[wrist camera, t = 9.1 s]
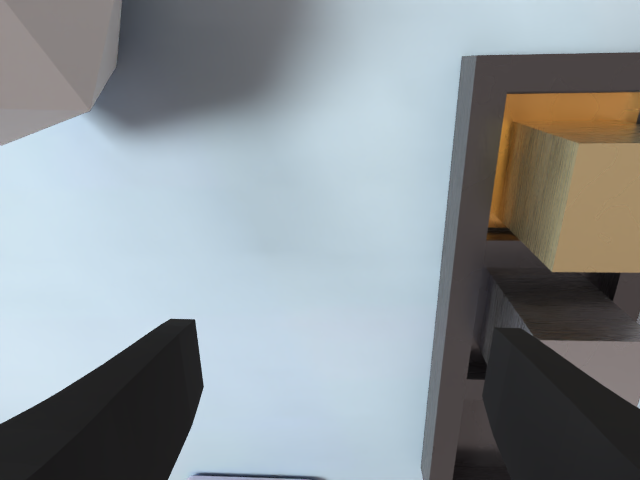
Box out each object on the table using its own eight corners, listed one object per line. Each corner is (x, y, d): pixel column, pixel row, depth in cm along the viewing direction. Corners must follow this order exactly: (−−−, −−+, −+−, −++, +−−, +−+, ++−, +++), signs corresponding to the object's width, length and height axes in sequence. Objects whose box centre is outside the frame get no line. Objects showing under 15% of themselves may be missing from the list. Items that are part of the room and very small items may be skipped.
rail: (564, 471, 25) (582, 505, 23) (420, 467, 25) (426, 499, 23) (679, 52, 16) (722, 50, 14) (461, 56, 17) (476, 55, 15)
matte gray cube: (564, 349, 21) (628, 432, 16) (478, 348, 21) (517, 429, 16) (582, 274, 19) (658, 342, 14) (489, 273, 19) (536, 339, 15)
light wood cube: (596, 219, 18) (684, 272, 13) (498, 218, 18) (551, 272, 14) (620, 120, 16) (728, 142, 12) (513, 121, 17) (578, 143, 12)
